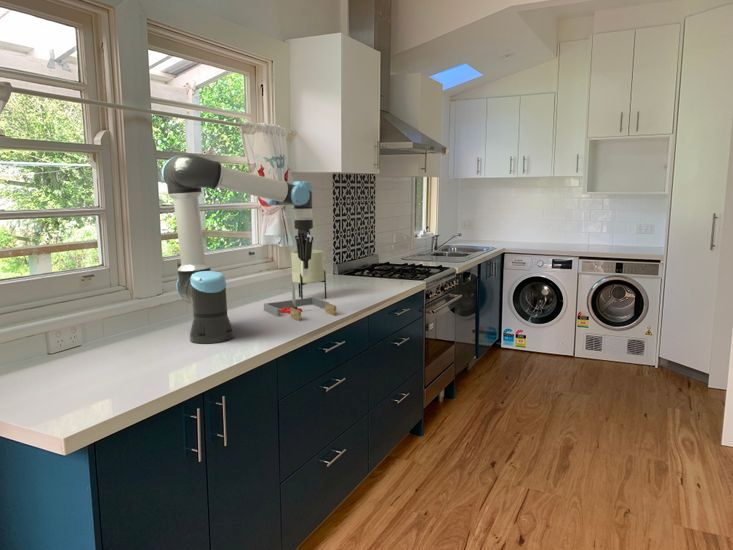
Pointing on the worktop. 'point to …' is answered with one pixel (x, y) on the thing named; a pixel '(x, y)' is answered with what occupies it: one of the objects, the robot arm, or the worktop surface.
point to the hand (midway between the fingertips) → (305, 276)
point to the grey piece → (276, 306)
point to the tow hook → (285, 310)
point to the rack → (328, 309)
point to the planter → (315, 270)
